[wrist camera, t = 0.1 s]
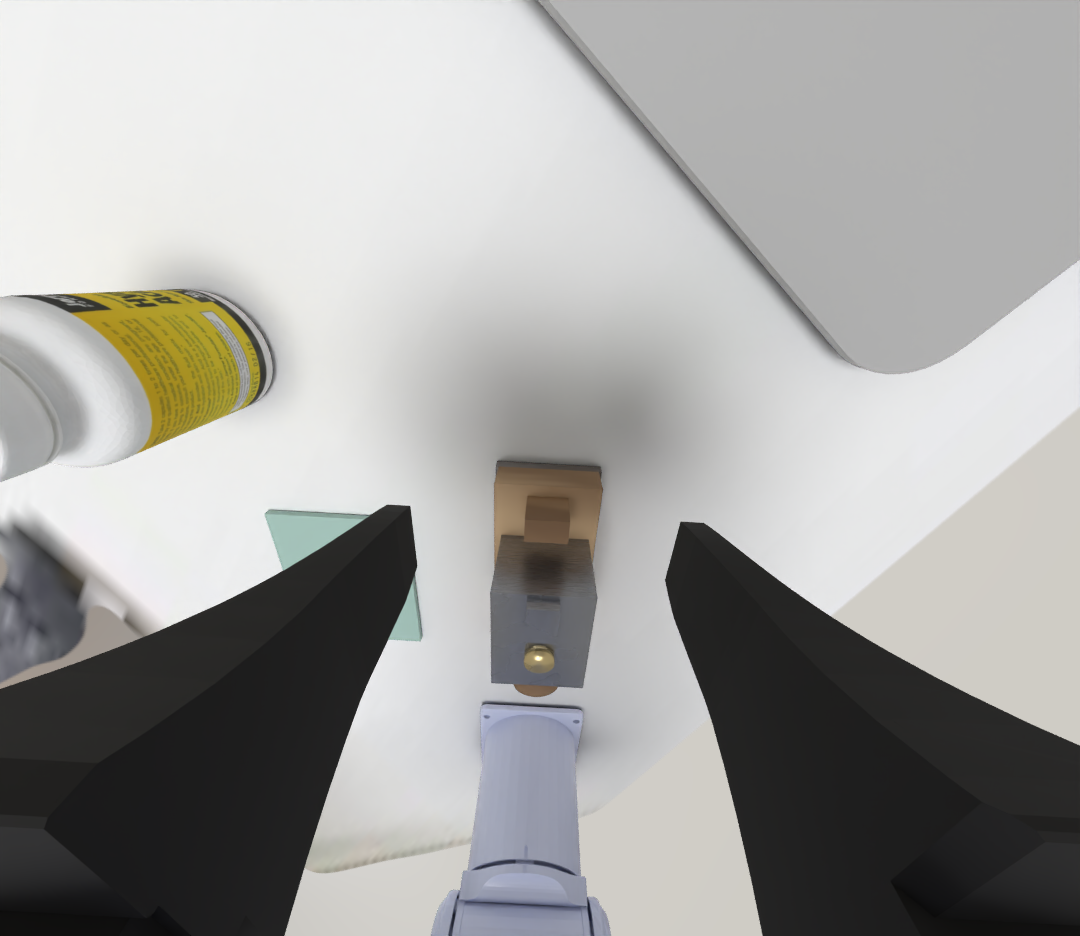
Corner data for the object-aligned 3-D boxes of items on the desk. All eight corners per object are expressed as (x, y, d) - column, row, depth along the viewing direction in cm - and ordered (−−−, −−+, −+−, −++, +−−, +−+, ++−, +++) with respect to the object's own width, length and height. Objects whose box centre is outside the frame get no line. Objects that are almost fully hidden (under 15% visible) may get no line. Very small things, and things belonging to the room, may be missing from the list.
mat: (422, 636, 27) (420, 641, 27) (307, 630, 27) (304, 634, 27) (406, 517, 22) (404, 521, 22) (269, 510, 22) (264, 514, 22)
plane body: (575, 645, 27) (579, 708, 23) (497, 640, 27) (488, 703, 23) (600, 466, 21) (612, 513, 17) (497, 461, 21) (484, 506, 17)
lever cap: (577, 621, 22) (583, 700, 18) (500, 617, 22) (489, 695, 18) (588, 539, 20) (598, 609, 16) (501, 534, 20) (488, 603, 16)
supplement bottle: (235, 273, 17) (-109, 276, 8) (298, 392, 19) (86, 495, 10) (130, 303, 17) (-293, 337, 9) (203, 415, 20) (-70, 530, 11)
